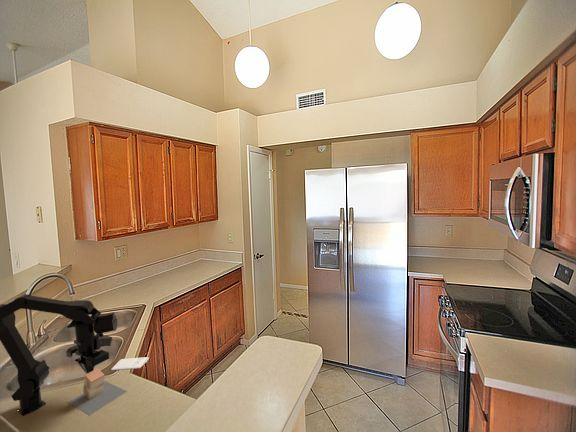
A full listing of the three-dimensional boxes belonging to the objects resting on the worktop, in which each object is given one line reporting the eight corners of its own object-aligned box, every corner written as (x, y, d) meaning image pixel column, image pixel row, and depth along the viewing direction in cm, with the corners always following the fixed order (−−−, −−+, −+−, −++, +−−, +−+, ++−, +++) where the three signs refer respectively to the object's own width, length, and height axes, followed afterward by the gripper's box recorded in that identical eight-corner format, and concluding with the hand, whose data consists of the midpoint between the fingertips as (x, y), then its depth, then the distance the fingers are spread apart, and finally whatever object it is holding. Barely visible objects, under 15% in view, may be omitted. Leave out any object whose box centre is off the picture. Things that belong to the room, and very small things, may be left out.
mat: (67, 403, 102) (67, 402, 102) (105, 382, 114) (105, 381, 114) (89, 416, 95) (89, 415, 95) (127, 392, 107) (127, 391, 106)
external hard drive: (121, 362, 129) (149, 359, 130) (111, 373, 121) (140, 370, 121) (121, 358, 129) (148, 356, 129) (110, 369, 121) (140, 366, 121)
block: (83, 392, 105) (84, 374, 103) (96, 385, 109) (97, 368, 107) (89, 399, 103) (91, 381, 101) (102, 391, 107) (104, 374, 105)
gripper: (121, 330, 108) (125, 369, 109) (94, 322, 117) (99, 358, 118) (89, 344, 98) (95, 387, 99) (63, 335, 107) (68, 374, 108)
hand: (90, 375), depth 106 cm, fingers closed
